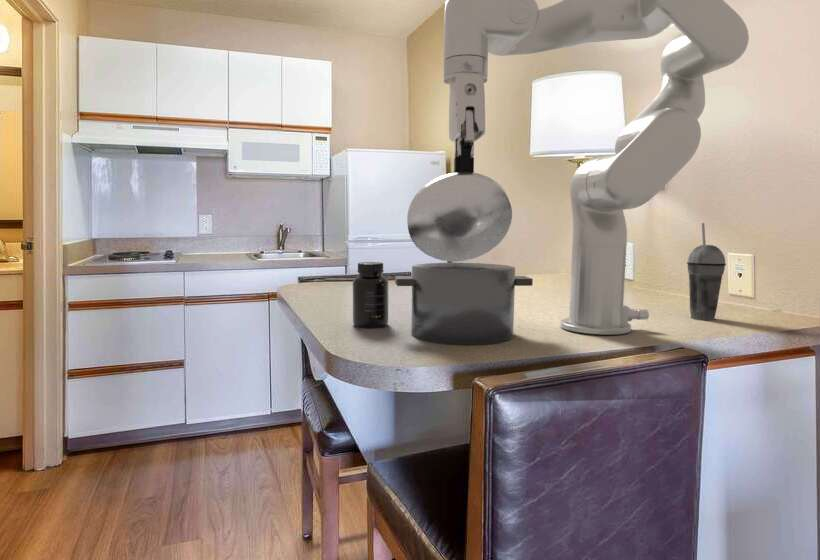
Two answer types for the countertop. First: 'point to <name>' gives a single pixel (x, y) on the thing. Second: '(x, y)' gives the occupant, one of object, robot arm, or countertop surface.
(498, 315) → the cooker pot
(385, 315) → the supplement bottle
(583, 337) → the countertop surface
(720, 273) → the beverage cup
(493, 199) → the lid
